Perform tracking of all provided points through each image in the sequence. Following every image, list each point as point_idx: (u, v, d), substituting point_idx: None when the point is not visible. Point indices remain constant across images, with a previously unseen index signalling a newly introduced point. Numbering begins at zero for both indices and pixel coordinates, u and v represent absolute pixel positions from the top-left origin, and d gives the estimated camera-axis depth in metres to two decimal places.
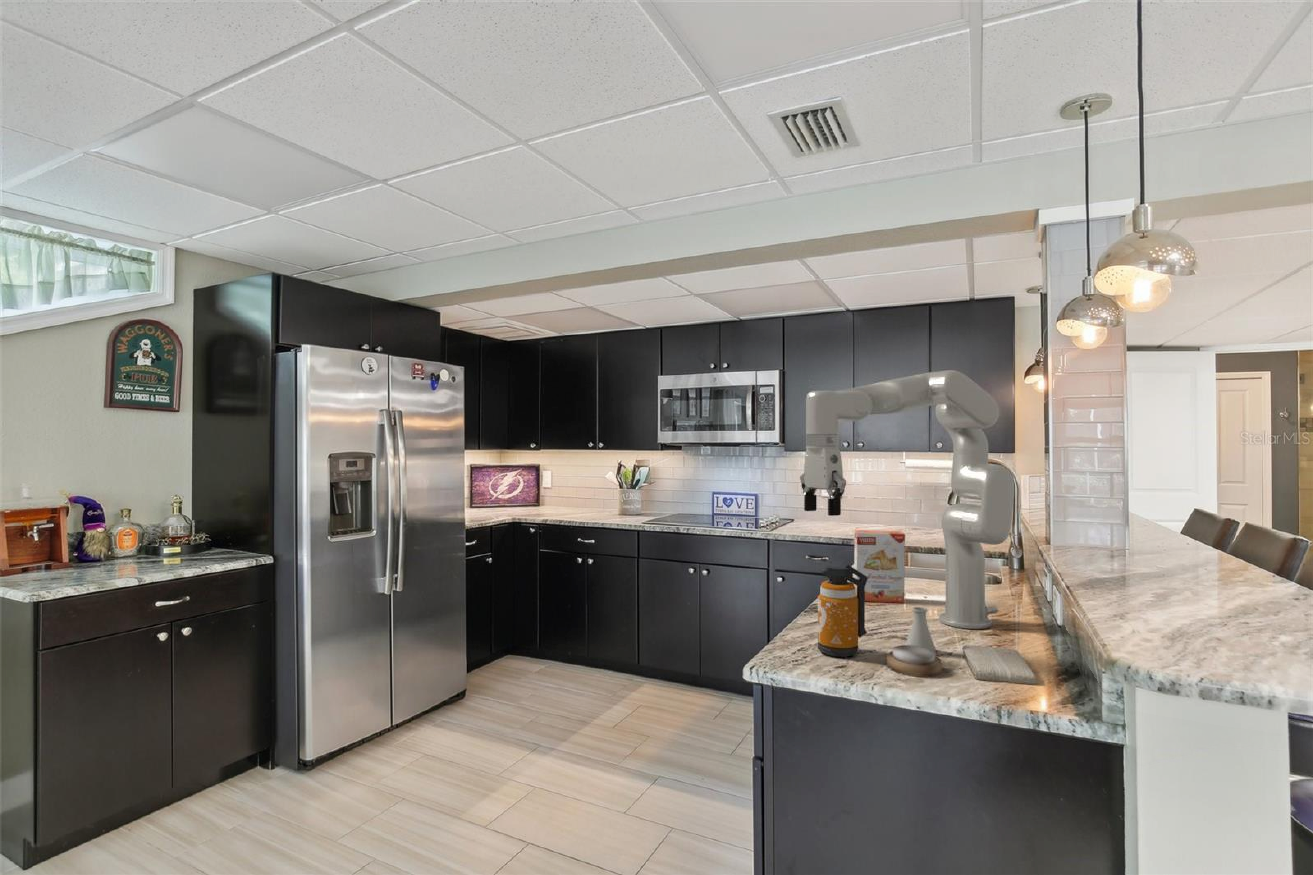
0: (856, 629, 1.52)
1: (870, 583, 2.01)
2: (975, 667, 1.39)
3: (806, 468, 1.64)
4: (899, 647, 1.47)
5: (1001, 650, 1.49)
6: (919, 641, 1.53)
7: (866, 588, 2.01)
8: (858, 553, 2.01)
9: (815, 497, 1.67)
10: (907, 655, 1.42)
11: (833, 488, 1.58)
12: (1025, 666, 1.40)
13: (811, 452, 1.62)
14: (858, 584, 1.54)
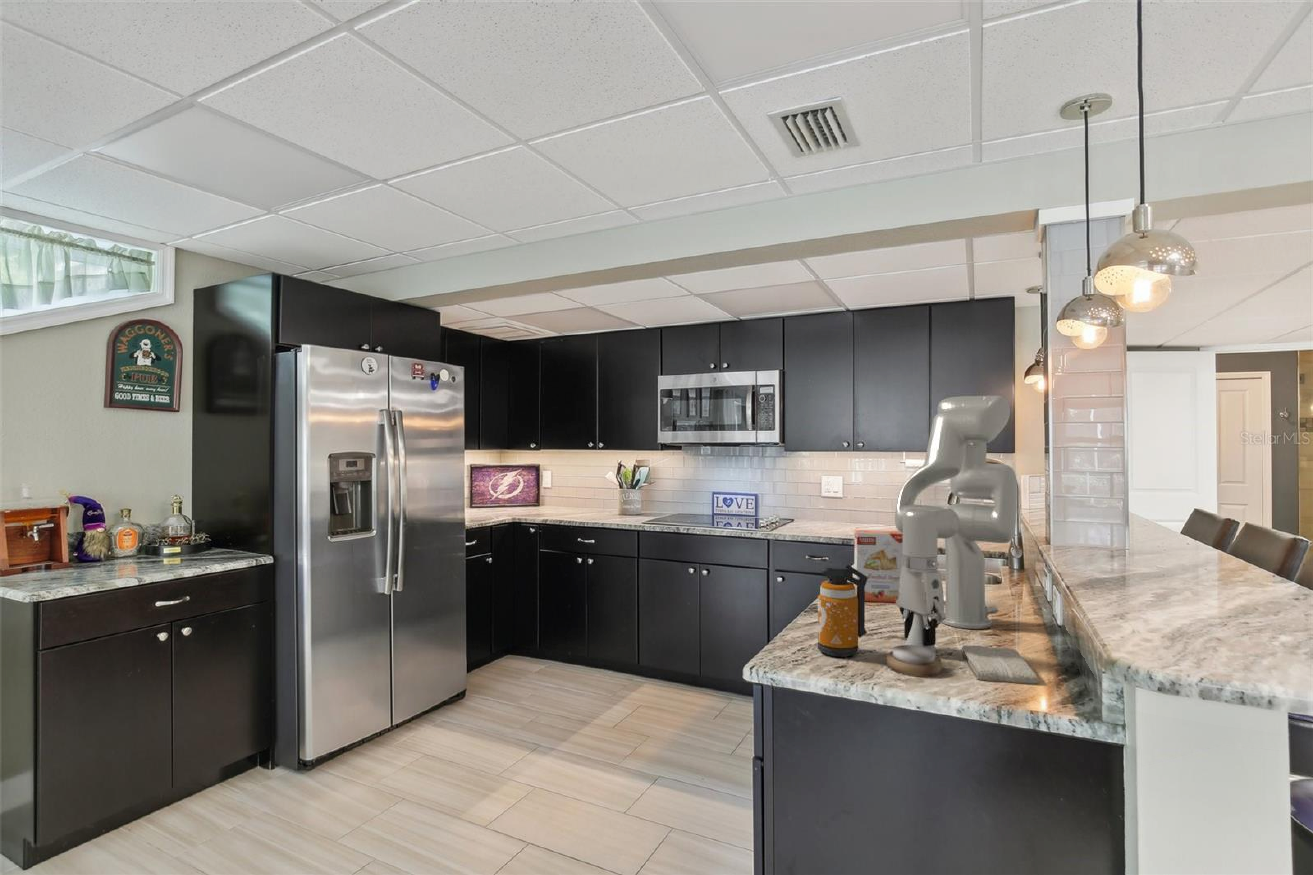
0: (856, 629, 1.52)
1: (870, 583, 2.01)
2: (977, 667, 1.39)
3: (902, 588, 1.58)
4: (899, 647, 1.47)
5: (1000, 650, 1.50)
6: (919, 641, 1.53)
7: (866, 588, 2.01)
8: (858, 553, 2.01)
9: None
10: (907, 655, 1.42)
11: (930, 616, 1.52)
12: (1026, 666, 1.40)
13: (908, 574, 1.55)
14: (858, 584, 1.54)
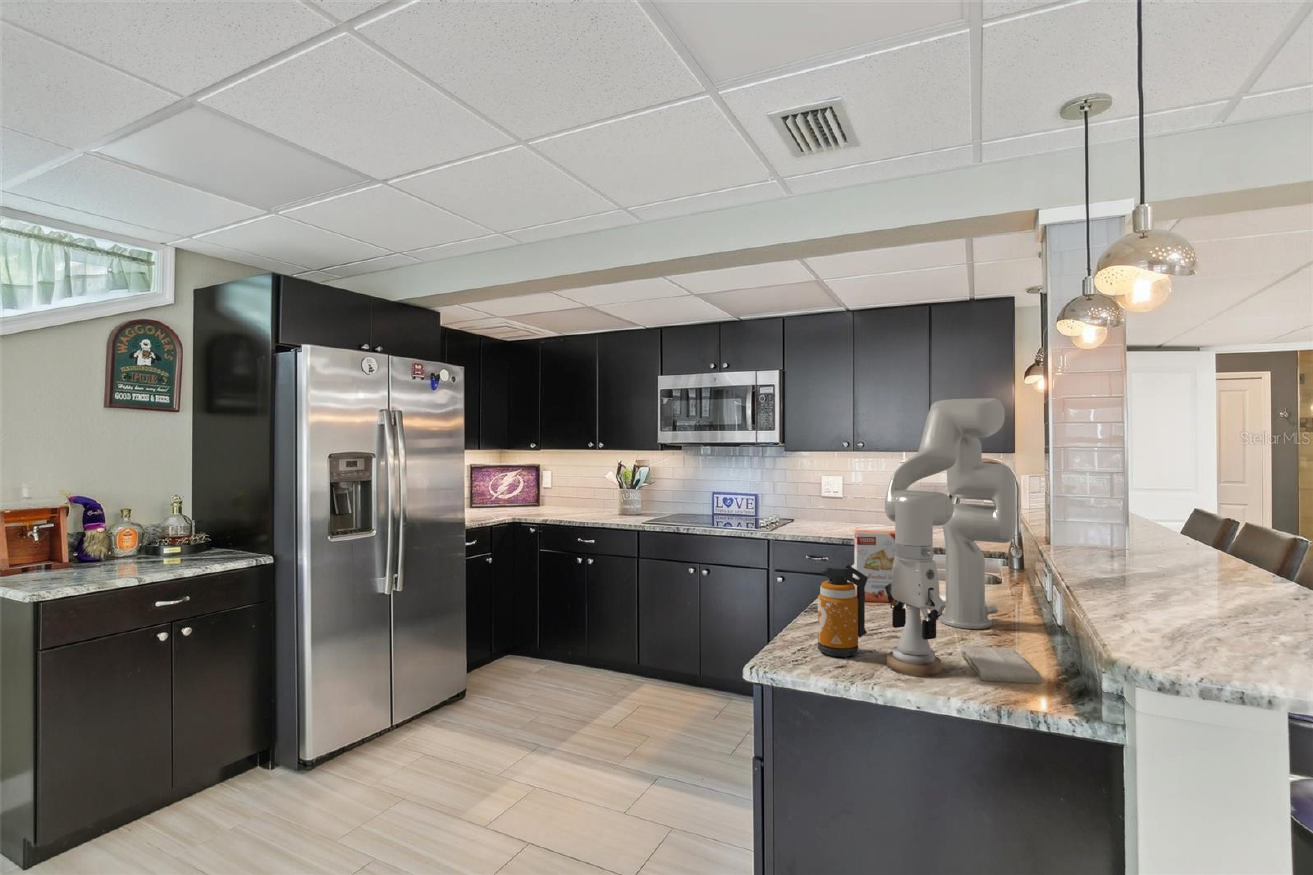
0: (856, 629, 1.52)
1: (870, 583, 2.01)
2: (980, 668, 1.38)
3: (894, 579, 1.47)
4: None
5: (999, 649, 1.50)
6: (913, 640, 1.43)
7: (866, 588, 2.01)
8: (858, 553, 2.01)
9: (904, 612, 1.49)
10: (907, 655, 1.42)
11: (928, 607, 1.41)
12: (1027, 665, 1.40)
13: (902, 564, 1.44)
14: (858, 584, 1.54)
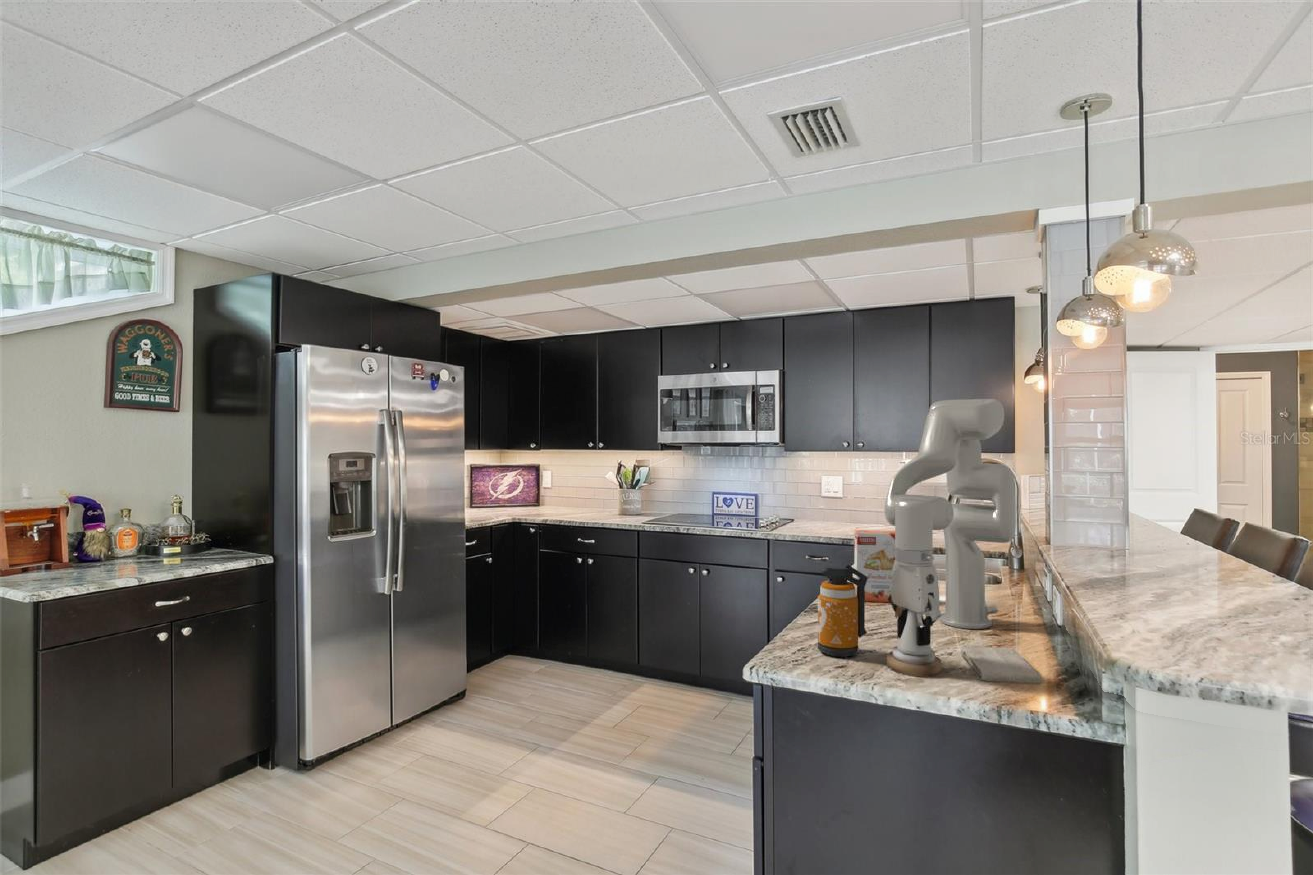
0: (856, 629, 1.52)
1: (870, 583, 2.01)
2: (980, 668, 1.38)
3: (894, 584, 1.47)
4: None
5: (999, 649, 1.50)
6: (914, 640, 1.42)
7: (866, 588, 2.01)
8: (858, 553, 2.01)
9: None
10: (907, 655, 1.42)
11: None
12: (1027, 665, 1.40)
13: (901, 568, 1.44)
14: (858, 584, 1.54)
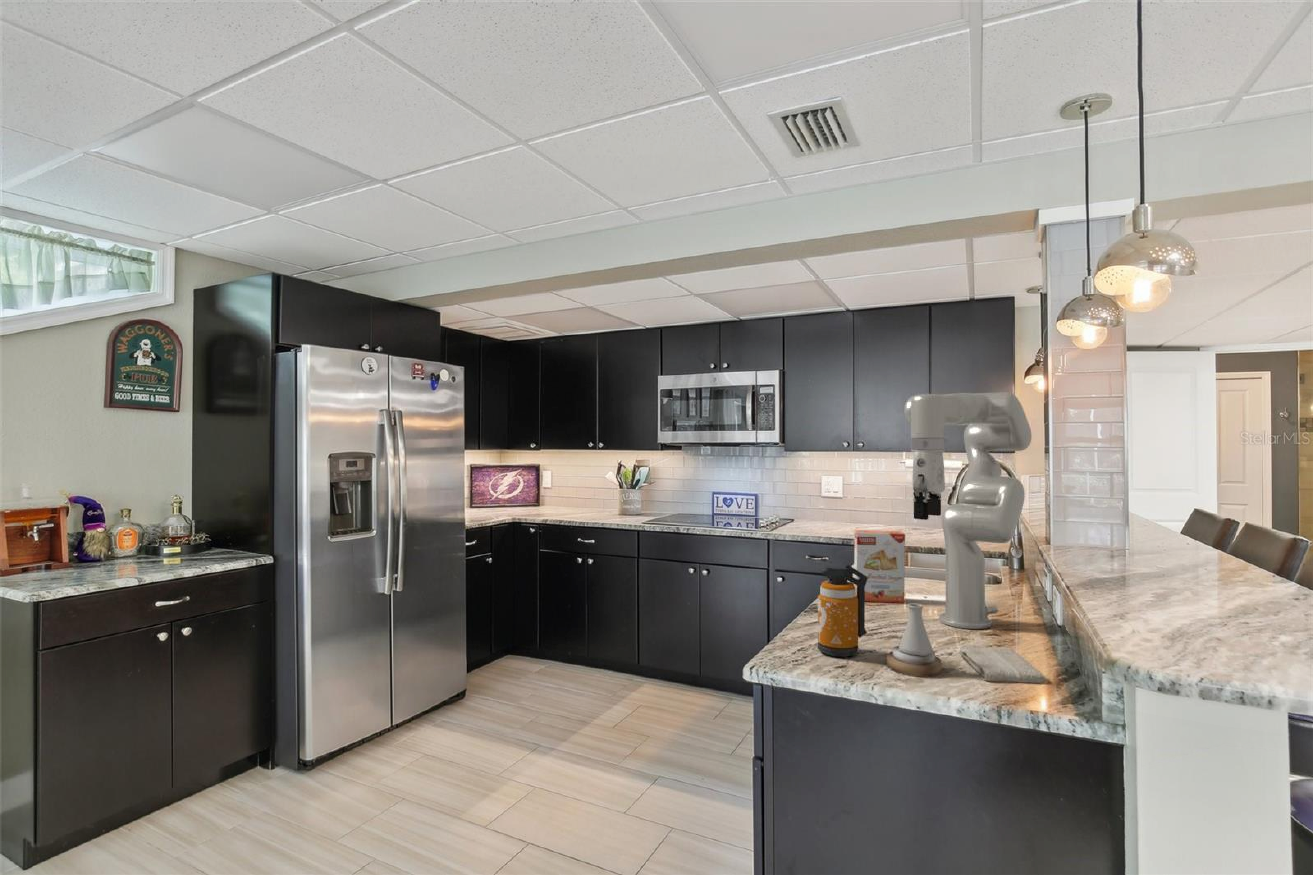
0: (856, 629, 1.52)
1: (870, 583, 2.01)
2: (984, 669, 1.38)
3: None
4: None
5: (998, 649, 1.50)
6: None
7: (866, 588, 2.01)
8: (858, 553, 2.01)
9: (938, 502, 1.64)
10: (907, 655, 1.42)
11: (922, 492, 1.58)
12: (1028, 665, 1.40)
13: None
14: (858, 584, 1.54)
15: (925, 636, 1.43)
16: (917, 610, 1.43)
